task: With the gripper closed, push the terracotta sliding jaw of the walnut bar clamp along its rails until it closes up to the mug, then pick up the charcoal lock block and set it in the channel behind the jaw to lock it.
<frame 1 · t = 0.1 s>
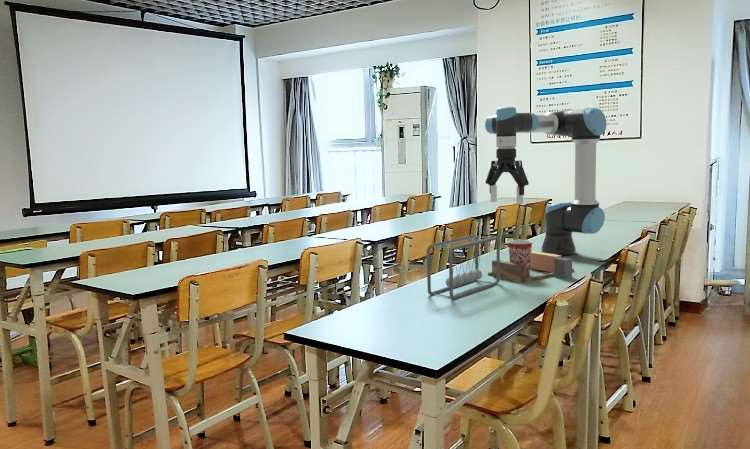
hand: (506, 202, 232), 28 cm above the table, fingers open, 13 cm apart
jaw: (543, 261, 237), point 3 cm above the table, slide at 0.0 cm
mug: (522, 275, 231), resting in clamp bed
newton's cradle: (465, 290, 211), on the table
lock block: (563, 277, 225), on the table
clamp bed: (530, 273, 233), on the table
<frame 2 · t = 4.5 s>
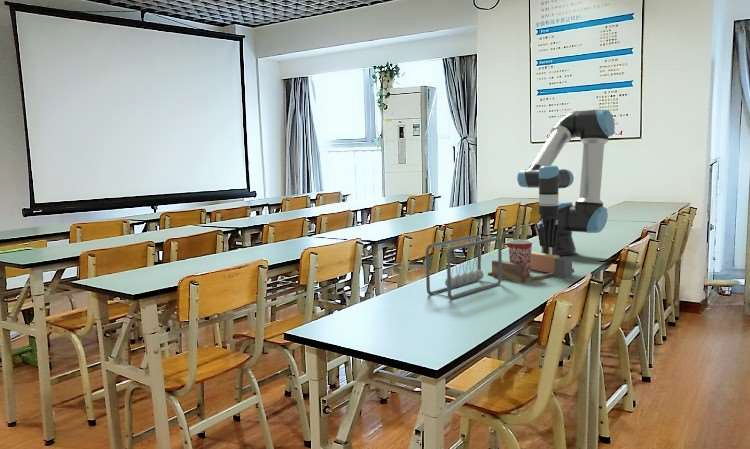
hand: (548, 263, 239), 3 cm above the table, fingers closed
jaw: (541, 262, 237), point 3 cm above the table, slide at 1.1 cm, touching gripper
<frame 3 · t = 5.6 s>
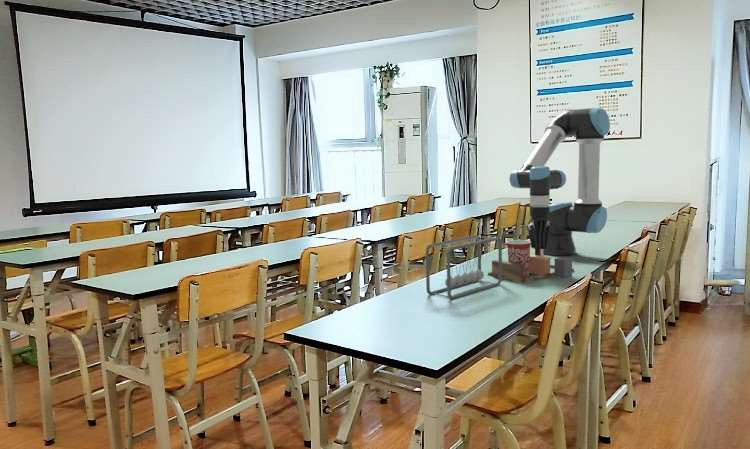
hand: (539, 265, 236), 3 cm above the table, fingers closed
jaw: (533, 264, 234), point 3 cm above the table, slide at 6.3 cm, touching gripper, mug
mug: (521, 275, 230), resting in clamp bed, touching jaw
everything else where it was.
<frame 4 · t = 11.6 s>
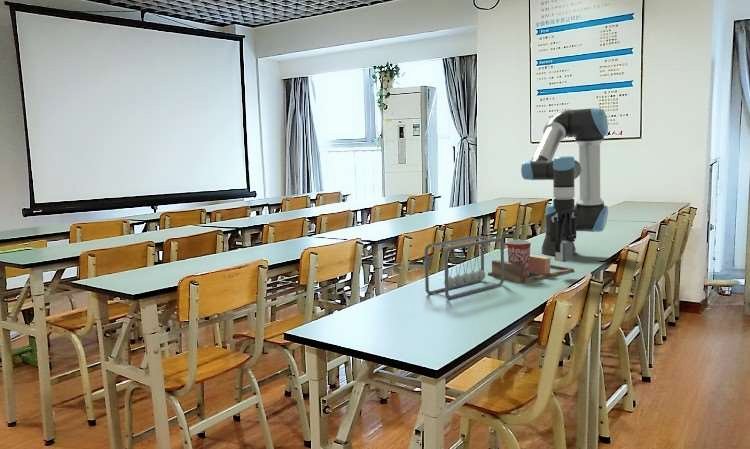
hand: (563, 259, 225), 7 cm above the table, fingers closed on lock block, 4 cm apart
jaw: (533, 264, 234), point 3 cm above the table, slide at 6.3 cm
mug: (521, 276, 230), resting in clamp bed
lock block: (563, 260, 225), point 6 cm above the table, touching gripper
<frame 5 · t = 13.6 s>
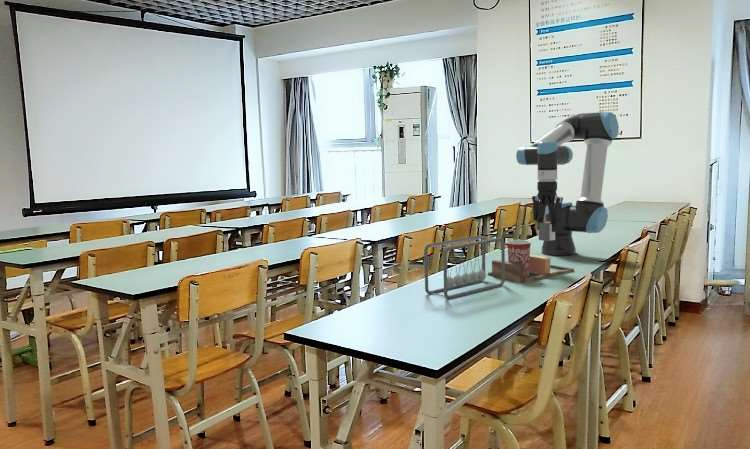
hand: (546, 239, 237), 12 cm above the table, fingers closed on lock block, 4 cm apart
lock block: (546, 239, 237), point 12 cm above the table, touching gripper
when the fingers open (1 cm above the table, at t = 15.8 s): lock block stays where it is, resting in clamp bed.
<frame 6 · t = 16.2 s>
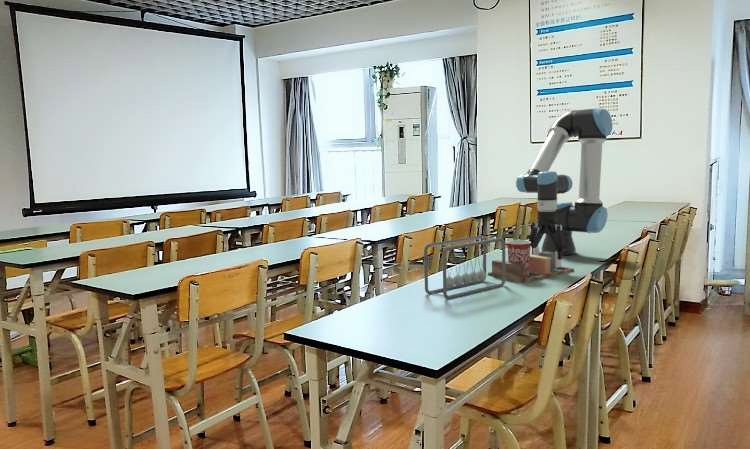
hand: (546, 265, 239), 2 cm above the table, fingers open, 10 cm apart
lock block: (546, 269, 239), resting in clamp bed
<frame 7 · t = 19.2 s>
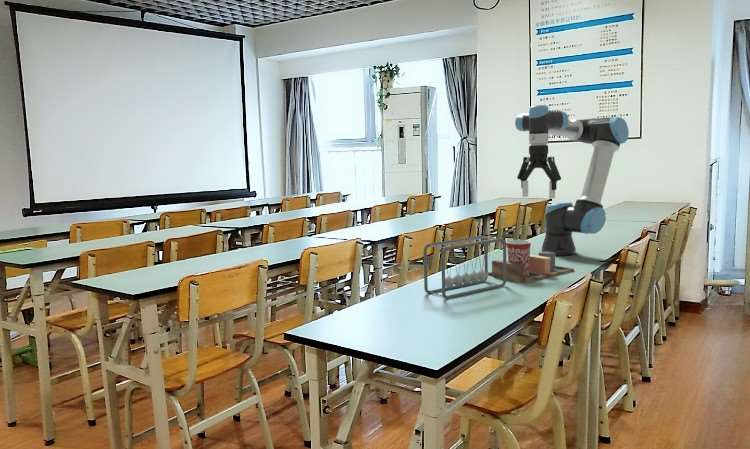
hand: (538, 197, 241), 29 cm above the table, fingers open, 13 cm apart
at the end: jaw slide at 6.3 cm; lock block inside the target area (0.8 cm from its centre), resting in clamp bed; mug tilted 0° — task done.
